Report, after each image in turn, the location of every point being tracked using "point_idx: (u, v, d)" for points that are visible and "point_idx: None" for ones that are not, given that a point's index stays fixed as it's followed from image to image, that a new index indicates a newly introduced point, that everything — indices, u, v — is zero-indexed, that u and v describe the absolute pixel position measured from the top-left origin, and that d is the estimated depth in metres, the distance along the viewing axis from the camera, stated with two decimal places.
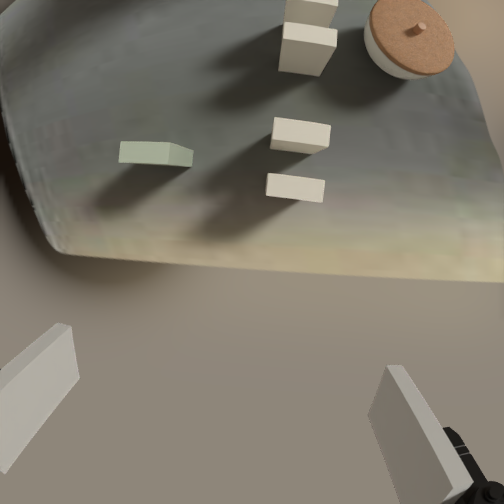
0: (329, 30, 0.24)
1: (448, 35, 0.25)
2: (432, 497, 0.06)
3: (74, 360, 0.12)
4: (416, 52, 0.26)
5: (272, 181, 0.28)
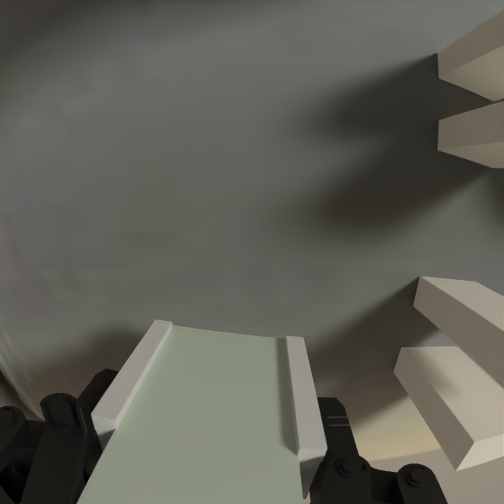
0: None
1: None
2: None
3: None
4: None
5: (473, 451, 0.10)
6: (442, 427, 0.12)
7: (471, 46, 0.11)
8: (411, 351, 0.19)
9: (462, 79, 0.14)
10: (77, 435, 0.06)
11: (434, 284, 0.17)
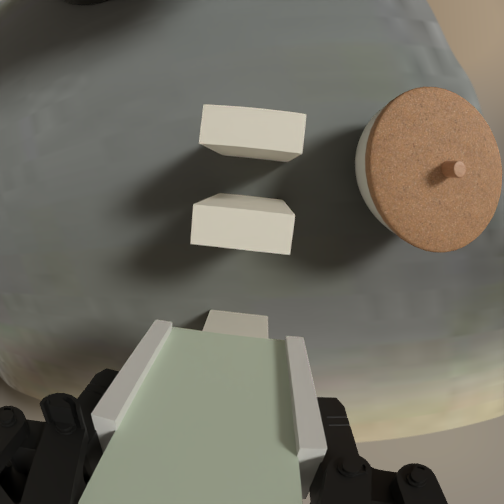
0: (280, 219, 0.16)
1: (497, 166, 0.16)
2: None
3: None
4: (439, 216, 0.17)
5: None
6: None
7: None
8: None
9: None
10: (77, 435, 0.06)
11: (208, 318, 0.26)
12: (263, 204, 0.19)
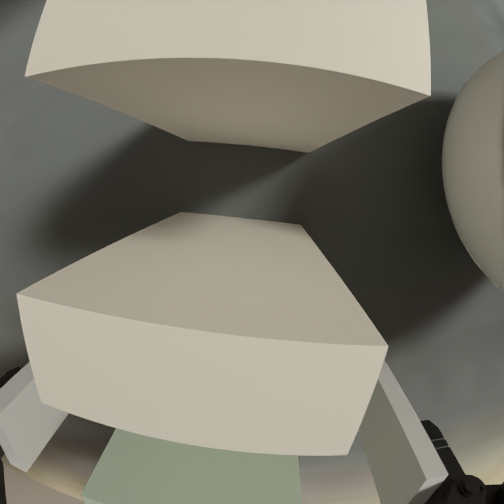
0: (329, 364, 0.04)
1: None
2: (407, 488, 0.06)
3: None
4: None
5: None
6: None
7: None
8: None
9: (211, 139, 0.11)
10: None
11: None
12: (263, 257, 0.07)
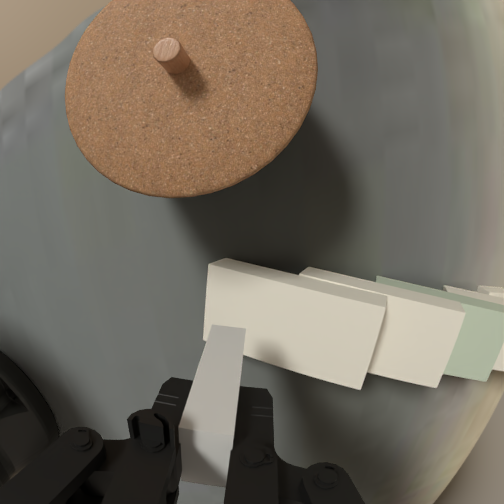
0: (461, 322, 0.15)
1: None
2: None
3: None
4: (255, 69, 0.10)
5: None
6: None
7: None
8: None
9: None
10: (165, 454, 0.07)
11: None
12: (398, 324, 0.16)
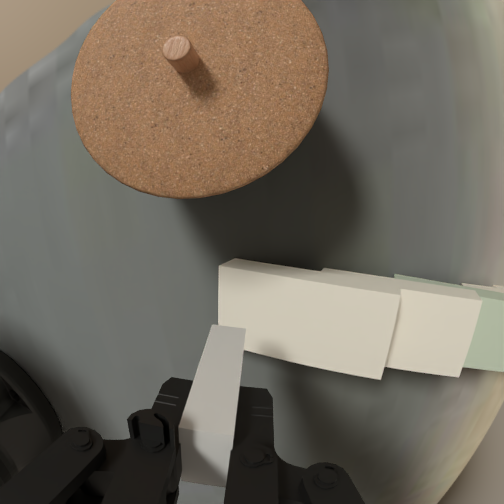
0: (478, 310, 0.15)
1: None
2: None
3: None
4: (266, 68, 0.10)
5: None
6: None
7: None
8: None
9: None
10: (165, 454, 0.07)
11: None
12: (417, 317, 0.16)
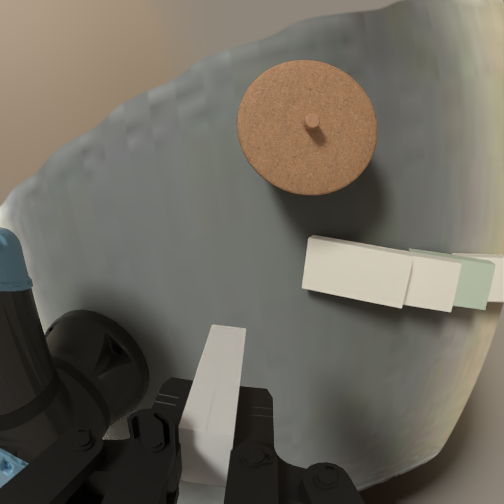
0: (459, 270, 0.26)
1: (298, 66, 0.21)
2: None
3: None
4: (349, 132, 0.22)
5: None
6: None
7: None
8: None
9: None
10: (165, 454, 0.07)
11: None
12: (424, 273, 0.28)
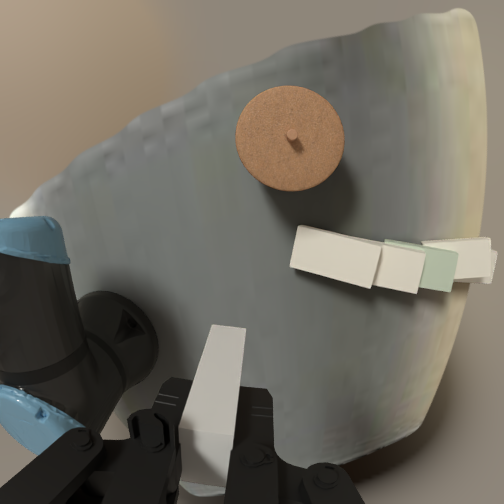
0: (424, 259, 0.34)
1: (282, 91, 0.28)
2: None
3: None
4: (321, 142, 0.29)
5: None
6: None
7: None
8: None
9: None
10: (165, 454, 0.07)
11: None
12: (394, 260, 0.35)
